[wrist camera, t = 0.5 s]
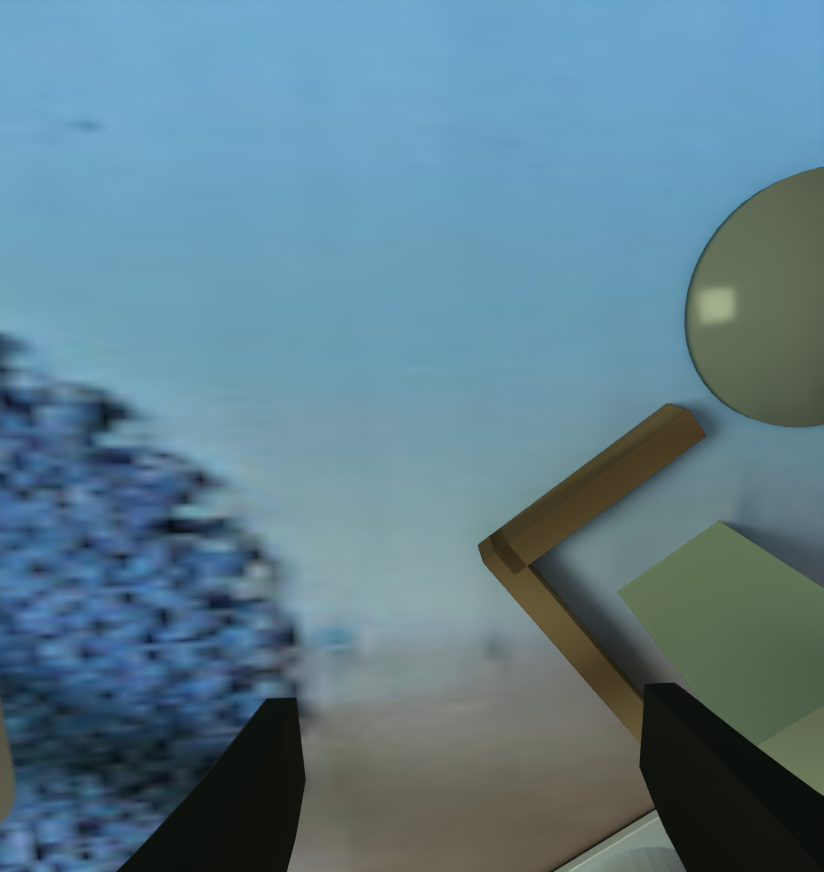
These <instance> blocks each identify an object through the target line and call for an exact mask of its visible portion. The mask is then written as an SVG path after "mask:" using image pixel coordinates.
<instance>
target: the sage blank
mask: <svg viewBox="0 0 824 872" xmlns="http://www.w3.org/2000/svg"><path fill="white" fill-rule="evenodd" d="M617 592H618V594H619V595H620V596H621V598H622V599H623V600H624V601H625V603H626V604H627V605H628V607H629V608H630V609H631V611H632V612H633V613H634V615H635V616H636V617H637V618H638V620H639V621H640V622H641V624H642V625H643V626H644V628H645V629H646V630H647V632H648V633H649V634H650V636H651V637H652V638H653V639H654V641H655V642H656V643H657V645H658V646H659V647H660V649H661V650H662V651H663V653H664V654H665V655H666V656H667V658H668V659H669V660H670V662H671V663H672V664H673V666H674V667H675V668H676V670H677V671H678V672H679V673H680V675H681V676H682V677H683V679H684V680H685V681H686V683H687V684H688V685H689V687H690V688H691V689H692V690H693V692H694V693H695V694H696V696H697V697H698V698H699V700H700V701H701V702H702V704H703V705H704V706H706V707H707V708H708V709H710V710H711V711H712V712H713V713H715V714H716V715H717V716H718V717H720V718H721V719H722V720H724V721H725V722H726V723H727V724H729V725H730V726H731V727H732V728H734V729H735V730H736V731H738V732H739V733H740V734H741V735H743V736H744V737H745V738H747V739H748V740H749V741H750V742H752V743H753V744H754V745H756V746H757V747H758V748H760V749H761V750H762V751H763V752H765V753H766V754H767V755H769V756H770V757H771V758H773V759H774V760H775V761H777V762H778V763H779V764H781V765H782V766H783V767H785V768H786V769H787V770H789V771H790V772H791V773H793V774H794V775H795V776H797V777H798V778H800V779H801V780H802V781H804V782H805V783H806V784H808V785H809V786H811V787H812V788H813V789H815V790H816V791H817V792H819V793H820V794H822V795H823V796H824V588H823V587H821V586H820V585H818V584H817V583H815V582H814V581H812V580H810V579H809V578H807V577H806V576H804V575H803V574H801V573H800V572H798V571H796V570H795V569H793V568H792V567H790V566H789V565H787V564H786V563H784V562H782V561H781V560H779V559H778V558H776V557H775V556H773V555H772V554H770V553H768V552H767V551H765V550H764V549H762V548H761V547H759V546H758V545H756V544H754V543H753V542H751V541H750V540H748V539H747V538H745V537H743V536H742V535H740V534H739V533H737V532H736V531H734V530H733V529H731V528H729V527H728V526H726V525H725V524H723V523H722V522H720V521H718V522H717V523H715V524H714V525H712V526H711V527H709V528H708V529H707V530H705V531H704V532H702V533H701V534H699V535H698V536H697V537H695V538H694V539H692V540H691V541H689V542H688V543H686V544H685V545H684V546H682V547H681V548H679V549H678V550H676V551H675V552H673V553H672V554H671V555H669V556H668V557H666V558H665V559H663V560H662V561H661V562H659V563H658V564H656V565H655V566H653V567H652V568H650V569H649V570H648V571H646V572H645V573H643V574H642V575H640V576H639V577H638V578H636V579H635V580H633V581H632V582H630V583H629V584H627V585H626V586H625V587H623V588H622V589H620V590H619V591H617Z"/></svg>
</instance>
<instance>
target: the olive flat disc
mask: <svg viewBox="0 0 824 872" xmlns="http://www.w3.org/2000/svg"><path fill="white" fill-rule="evenodd" d="M685 334H686V342H687V346H688V350H689V354H690V357H691V359H692V362H693V364H694V367H695V369H696V371H697V373H698V374H699V376H700V378H701V380H702V381H703V383H704V384H705V385H706V387H707V388H708V389H709V390H710V391H711V393H712V394H713V395H714V396H715V397H717V398H718V399H719V400H720V401H721V402H722V403H723V404H725V405H726V406H728V407H729V408H731V409H732V410H734V411H735V412H738V413H740V414H742V415H744V416H746V417H748V418H752V419H755V420H758V421H761V422H765V423H769V424H773V425H779V426H785V427H807V426H817V425H822V424H824V167H820V168H816V169H812V170H808V171H804V172H801V173H799V174H796V175H794V176H791V177H788V178H786V179H783V180H781V181H778V182H776V183H774V184H772V185H770V186H768V187H766V188H765V189H763V190H761V191H759V192H758V193H756V194H755V195H753V196H752V197H751V198H749V199H748V200H746V201H745V202H744V203H742V204H741V205H740V206H739V207H738V208H737V209H736V210H735V211H734V212H732V213H731V214H730V215H729V216H728V218H727V219H726V220H725V221H724V222H723V223H722V224H721V225H720V227H719V228H718V229H717V230H716V232H715V233H714V235H713V236H712V237H711V239H710V240H709V242H708V243H707V245H706V247H705V248H704V250H703V252H702V254H701V256H700V258H699V260H698V262H697V264H696V267H695V269H694V272H693V274H692V277H691V281H690V285H689V288H688V292H687V298H686V305H685Z"/></svg>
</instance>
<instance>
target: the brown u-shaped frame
mask: <svg viewBox="0 0 824 872" xmlns="http://www.w3.org/2000/svg"><path fill="white" fill-rule="evenodd" d="M705 436H707V435H706V434H705V432H704V431H703V430H702V428H701V427H700V425H699V424H698V423H697V421H696V420H695V418H694V417H693V416H692V414H691V413H690V411H689V410H687V409H684V408H680V407H677V406H674V405H671V404H665V405H664V406H663V407H661V408H660V409H659V410H657V411H656V412H655V413H653V414H652V415H651V416H649V417H648V418H647V419H645V420H644V421H643V422H641V423H640V424H639V425H637V426H636V427H635V428H633V429H632V430H631V431H629V432H628V433H627V434H625V435H624V436H623V437H621V438H620V439H619V440H617V441H616V442H615V443H613V444H612V445H611V446H609V447H608V448H607V449H605V450H604V451H603V452H601V453H600V454H599V455H597V456H596V457H595V458H593V459H592V460H591V461H589V462H588V463H587V464H585V465H584V466H583V467H581V468H580V469H579V470H577V471H576V472H575V473H573V474H572V475H571V476H569V477H568V478H567V479H565V480H564V481H563V482H561V483H560V484H559V485H557V486H556V487H555V488H553V489H552V490H551V491H549V492H548V493H546V494H545V495H544V496H542V497H541V498H540V499H538V500H537V501H536V502H534V503H533V504H532V505H530V506H529V507H528V508H526V509H525V510H524V511H522V512H521V513H520V514H518V515H517V516H516V517H514V518H513V519H512V520H510V521H509V522H508V523H506V524H505V525H504V526H502V527H501V528H500V529H498V530H497V531H496V532H494V533H493V534H492V535H490V536H489V537H488V538H486V539H485V540H484V541H482V542H481V543H480V544H478V548H479V551H480V554H481V558H482V561H483V563H484V564H485V565H486V566H487V568H488V569H489V570H490V571H491V572H492V573H493V575H494V576H495V577H496V578H497V579H498V580H499V581H500V583H501V584H502V585H503V586H504V587H505V588H506V589H507V591H508V592H509V593H510V594H511V595H512V596H513V598H514V599H515V600H516V601H517V602H518V603H519V604H520V606H521V607H522V608H523V609H524V610H525V611H526V613H527V614H528V615H529V616H530V617H531V618H532V619H533V621H534V622H535V623H536V624H537V625H538V626H539V628H540V629H541V630H542V631H543V632H544V633H545V634H546V636H547V637H548V638H549V639H550V640H551V641H552V642H553V644H554V645H555V646H556V647H557V648H558V649H559V651H560V652H561V653H562V654H563V655H564V656H565V657H566V659H567V660H568V661H569V662H570V663H571V664H572V666H573V667H574V668H575V669H576V670H577V671H578V672H579V674H580V675H581V676H582V677H583V678H584V679H585V680H586V682H587V683H588V684H589V685H590V686H591V687H592V689H593V690H594V691H595V692H596V693H597V694H598V695H599V697H600V698H601V699H602V700H603V701H604V702H605V704H606V705H607V706H608V707H609V708H610V709H611V710H612V712H613V713H614V714H615V715H616V716H617V717H618V718H619V720H620V721H621V722H622V723H623V724H624V725H625V727H626V728H627V729H628V730H629V731H630V732H631V733H632V735H633V736H634V737H635V738H636V739H637V740H638V742H639V743H640V744H641V734H642V719H643V703H644V696H643V695H642V694H641V693H640V692H639V690H638V689H637V688H636V687H635V686H634V684H633V683H632V682H631V681H630V680H629V678H628V677H627V676H626V675H625V674H624V673H623V671H622V670H621V669H620V668H619V667H618V665H617V664H616V663H615V662H614V661H613V660H612V658H611V657H610V656H609V655H608V654H607V652H606V651H605V650H604V649H603V648H602V647H601V645H600V644H599V643H598V642H597V641H596V639H595V638H594V637H593V636H592V635H591V634H590V632H589V631H588V630H587V629H586V628H585V626H584V625H583V624H582V623H581V622H580V620H579V619H578V618H577V617H576V616H575V615H574V613H573V612H572V611H571V610H570V609H569V607H568V606H567V605H566V604H565V603H564V602H563V600H562V599H561V598H560V597H559V596H558V594H557V593H556V592H555V591H554V590H553V589H552V587H551V586H550V585H549V584H548V583H547V581H546V580H545V579H544V578H543V577H542V575H541V574H540V573H539V572H538V571H537V570H536V568H535V567H534V566H533V565H532V564H531V563H532V562H533V561H535V560H536V559H538V558H539V557H540V556H542V555H543V554H544V553H546V552H547V551H549V550H550V549H551V548H553V547H554V546H555V545H557V544H558V543H560V542H561V541H562V540H564V539H565V538H566V537H568V536H569V535H571V534H572V533H573V532H575V531H576V530H577V529H579V528H580V527H582V526H583V525H584V524H586V523H587V522H588V521H590V520H591V519H593V518H594V517H595V516H597V515H598V514H599V513H601V512H602V511H604V510H605V509H606V508H608V507H609V506H610V505H612V504H613V503H615V502H616V501H617V500H619V499H620V498H621V497H623V496H624V495H626V494H627V493H628V492H630V491H631V490H633V489H634V488H635V487H637V486H638V485H639V484H641V483H642V482H644V481H645V480H646V479H648V478H649V477H650V476H652V475H653V474H655V473H656V472H657V471H659V470H660V469H661V468H663V467H664V466H666V465H667V464H668V463H670V462H671V461H672V460H674V459H675V458H677V457H678V456H679V455H681V454H682V453H683V452H685V451H686V450H688V449H689V448H690V447H692V446H693V445H694V444H696V443H697V442H699V441H700V440H701V439H703V438H704V437H705Z"/></svg>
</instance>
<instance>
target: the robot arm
mask: <svg viewBox="0 0 824 872" xmlns="http://www.w3.org/2000/svg"><path fill="white" fill-rule="evenodd" d="M639 767H640V769H641V772H642V775H643V777H644V780H645V782H646V785H647V788H648V790H649V793H650V795H651V798H652V801H653V803H654V805H655V808H656V810H654V811H652V812H651V813H649V814H647V815H646V816H644V817H642V818H641V819H639V820H638V821H636V822H634V823H633V824H631V825H629V826H628V827H626V828H624V829H623V830H621V831H619V832H618V833H616V834H615V835H613V836H611V837H610V838H608V839H606V840H605V841H603V842H601V843H600V844H598V845H597V846H595V847H593V848H592V849H590V850H588V851H587V852H585V853H583V854H582V855H580V856H579V857H577V858H575V859H574V860H572V861H570V862H569V863H567V864H565V865H564V866H562V867H561V868H559V869H557V870H556V871H554V872H824V796H823V795H822V794H820V793H819V792H817V791H816V790H815V789H813V788H812V787H811V786H809V785H808V784H806V783H805V782H804V781H802V780H801V779H800V778H798V777H797V776H795V775H794V774H793V773H791V772H790V771H789V770H787V769H786V768H785V767H783V766H782V765H781V764H779V763H778V762H777V761H775V760H774V759H773V758H771V757H770V756H769V755H767V754H766V753H765V752H763V751H762V750H761V749H760V748H758V747H757V746H756V745H754V744H753V743H752V742H750V741H749V740H748V739H747V738H745V737H744V736H743V735H741V734H740V733H739V732H738V731H736V730H735V729H734V728H732V727H731V726H730V725H729V724H727V723H726V722H725V721H724V720H722V719H721V718H720V717H718V716H717V715H716V714H715V713H713V712H712V711H711V710H710V709H708V708H707V707H706V706H704V705H703V704H702V703H701V702H699V701H698V700H697V699H696V698H694V697H693V696H692V695H690V694H689V693H688V692H686V691H685V690H684V689H682V688H681V687H680V686H678V685H677V684H676V683H654V684H645V688H644V703H643V719H642V734H641V750H640V765H639ZM305 780H306V778H305V769H304V761H303V752H302V744H301V735H300V726H299V718H298V709H297V700H296V698H271V699H266V700H265V701H264V702H263V703H262V705H261V706H260V707H259V708H258V710H257V711H256V712H255V713H254V715H253V716H252V717H251V719H250V720H249V721H248V722H247V724H246V725H245V726H244V728H243V729H242V730H241V731H240V733H239V734H238V735H237V736H236V738H235V739H234V740H233V741H232V743H231V744H230V745H229V746H228V748H227V749H226V750H225V751H224V753H223V754H222V755H221V756H220V757H219V759H218V760H217V761H216V762H215V763H214V765H213V766H212V767H211V768H210V769H209V771H208V772H207V773H206V774H205V775H204V777H203V778H202V779H201V780H200V781H199V783H198V784H197V785H196V786H195V787H194V788H193V790H192V791H191V792H190V793H189V794H188V795H187V797H186V798H185V799H184V800H183V801H182V802H181V803H180V804H179V805H178V807H177V808H176V809H175V810H174V811H173V812H172V813H171V814H170V815H169V816H168V818H167V819H166V820H165V821H164V822H163V823H162V824H161V825H160V826H159V827H158V829H157V830H156V831H155V832H154V833H153V834H152V835H151V836H150V837H149V838H148V840H147V841H146V842H145V843H144V844H143V845H142V846H141V847H140V848H139V849H138V850H137V851H136V852H135V853H134V854H133V855H132V856H131V857H130V858H129V859H128V860H127V861H126V862H125V863H124V864H123V865H122V866H121V867H120V868H119V869H118V870H117V871H116V872H287V869H288V865H289V861H290V858H291V854H292V850H293V846H294V842H295V838H296V833H297V828H298V822H299V816H300V811H301V804H302V798H303V792H304V786H305Z"/></svg>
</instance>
